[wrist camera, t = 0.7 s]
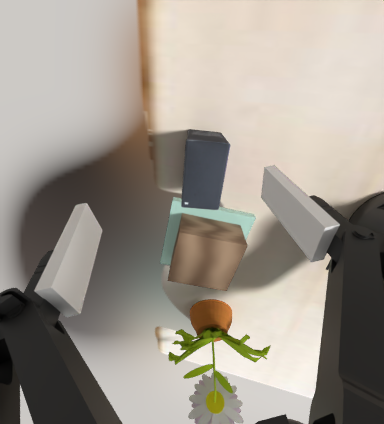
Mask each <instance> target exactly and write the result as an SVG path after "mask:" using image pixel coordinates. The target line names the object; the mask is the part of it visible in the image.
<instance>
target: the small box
mask: <svg viewBox="0 0 384 424" xmlns="http://www.w3.org/2000/svg"><path fill="white" fill-rule="evenodd" d="M229 149H230V144H229V143H228V141H227V140H226V139H225V138H224V136H223V135H222V133H218V132H210V131H200V130H191V129H189V130H188V136H187V140H186V149H185V161H184V174H183V187H182V201H181V207H183V208H196V209H208V210H219V204H220V199H221V193H222V188H223V182H224V177H225V171H226V166H227V160H228V155H229Z"/></svg>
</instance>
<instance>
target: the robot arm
mask: <svg viewBox="0 0 384 424" xmlns="http://www.w3.org/2000/svg"><path fill="white" fill-rule="evenodd" d="M261 198H262V199H263V201H264V202H265V203H266V204H267V206H268V207H269V208H270V210H271V211H272V212H273V214H274V215H275V216H276V217H277V219H278V220H279V221H280V223H281V224H282V225H283V227H284V228H285V229H286V230H287V232H288V233H289V234H290V236H291V237H292V238H293V240H294V241H295V242H296V243H297V245H298V246H299V247H300V249H301V250H302V251H303V253H304V254H305V255H306V256H307V258H308V259H309V260H310V262H314V261H319V260H323V259H324V258H325V256H326V253H328V254H329V255H330V256H331V260H330V262H329V264H328V266H327V268H326V270H328V269H329V273H328V282H327V291H326V301H325V310H324V319H323V328H322V337H321V346H320V356H319V365H318V374H317V383H316V390H315V394H314V397H313V400H312V404H311V409H310V416H309V424H384V193H383V194H380V195H378V196H376V197H374V198H372V199H370V200H368V201H367V202H365V203H364V204H363V205H362V206H360V207H359V208H358V209H357V210H356V211H355V213H354V214H353V215H352V217H351V218H350V220H349V221H348V220H346V219H345V218H344V217H343V216H342V215H341V214H339V213H338V212H337V211H336V210H334V209H333V208H332V207H331V206H329V204H328V203H326V202H325V201H324V200H323V199H321V198H319V197H317V196H314V195H313V196H308V195H307V194H306V193H304V192H303V191H302V190H301V189H300V188H299V187H298V186H297V185H296V184H294V183H293V182H292V181H291V180H290V179H289V178H288V177H287V176H286V175H285V174H283V173H282V172H281V171H280V170H279V169H278V168H277V167H276V166H275V165H274V166H269V167H264V176H263V185H262V194H261ZM102 231H103V230H102V228H101V227H100V225H99V223H98V221H97V220H96V218H95V216H94V215H93V213H92V211H91V209H90V208H89V206H88V204H87V203H83V204H78V205H76V206H75V208H74V210H73V212H72V214H71V216H70V218H69V220H68V222H67V224H66V226H65V228H64V230H63V233H62V235H61V237H60V239H59V241H58V243H57V245H56V247H55V249H54V250H52V251H48V252H47V254H46V255H45V256H44V257H43V258H42V259H41V261H40V263H39V265H38V268H37V269H36V271H35V272H34V275H33V276H32V278H31V280H30V282H29V284H28V286H27V287H26V289H25V291H24V293H22V292H21V291H20V290H18V289H17V288H11V289H8V290H5V291H3V292H1V293H0V424H20V385H21V388H22V391H23V394H24V396H25V400H26V402H27V405H28V408H29V411H30V414H31V417H32V420H33V423H34V424H122V422H121V421H120V419H119V417H118V416H117V414H116V412H115V411H114V409H113V407H112V406H111V404H110V402H109V401H108V399H107V398H106V396H105V394H104V392H103V391H102V389H101V387H100V386H99V384H98V383H97V381H96V379H95V378H94V376H93V374H92V373H91V371H90V369H89V368H88V366H87V364H86V363H85V361H84V360H83V358H82V356H81V355H80V353H79V351H78V350H77V348H76V346H75V345H74V343H73V341H72V340H71V338H70V336H69V335H68V333H67V331H66V330H65V328H64V326H63V325H62V323H61V322H60V321H59V320H58V317H59V315H60V313H62V314H63V315H64V316H65V317H69V316H73V315H79V314H81V310H82V306H83V302H84V298H85V295H86V291H87V287H88V284H89V280H90V276H91V272H92V268H93V265H94V261H95V257H96V253H97V249H98V246H99V242H100V238H101V234H102ZM256 424H303V423H301V422H299V421H295V420H292V419H287V417H286V415H281V416H277V417H273V418H270V419H266V420H262V421H258V422H257V423H256Z"/></svg>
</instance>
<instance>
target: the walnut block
mask: <svg viewBox="0 0 384 424" xmlns="http://www.w3.org/2000/svg"><path fill="white" fill-rule="evenodd" d="M246 248H247V243H246V240H245V237H244V234H243V231H242V228H241V225H237V224H233V223H228V222H223V221H218V220H213V219H209V218H204V217H199V216H194V215H189V214H185V213H182V216H181V220H180V224H179V228H178V233H177V237H176V241H175V245H174V249H173V254H172V258H171V264H170V270H169V276H168V281H172V282H178V283H184V284H189V285H195V286H201V287H206V288H212V289H218V290H223V291H227V289H228V286H229V284H230V282H231V280H232V278H233V276H234V274H235V271H236V269H237V267H238V265H239V263H240V261H241V259H242V257H243V254H244V252H245V250H246Z"/></svg>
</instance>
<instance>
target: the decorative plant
mask: <svg viewBox="0 0 384 424" xmlns="http://www.w3.org/2000/svg"><path fill="white" fill-rule="evenodd" d="M190 319H191V324H192V326H193V328H194V329H195V331H196V333H197V337H194V336H192V335H190V334H188V333H186V332H184V330H182V329H181V330H179V331H176V334H179V335H182V337H183V339H184V341H181V342H179V341H175V342H174V343H172V344H180V345H181V346H182V348H181V349H180V350H186V351H185V352H184V353H183V354H182V355H181V356H176V355H174V354H173V353H171V352H169V360H170V361H173V360H175V364H177V363H178V362H180V361H181V360H183V359H185V358H186V357H187V356H189V355H190V354H192V353H193V352H195V351H196V350H197V349H199V348H201V347H203V346H204V345H206V344H208V343H210V342H212V351H213V364H209V365H205V366H202V367H199V368H196V369H194V370H192V371H190V372H189V373H187V374H186V375H185V376H184V378H191V377H195V376H198V375H200V374H203V373H204V372H206V371H208V370H210V369H211V368H213V371H214V372H213V373H212V376H211V378H210V377H208V376H207V375H205V374H203V375H202V379H203V381H202V380H200V381H199V384H195V389H196V390H197V391H195V392H194V394H195V395H192V396H190V397H189V400H190V401H191V402H193V404H192V407H193V408H194V409H193V410H192V411H191V412H190V413H189V418H190V419H195V423H196V424H234V421H235V422H237V423H243V418H242V417H241V416H240V415H239V413H240V412H241V410H240V408H239V407H241V406H242V402H241V401H240V400H238V399H237V395H236V394H234V393H235V392H236V389H237V388H236V386H230V383H228V379H227V377H223V376H222V375H221V374H220V373H219V372H217V371H215V356H214V342H215V341H220V340H223V341H224V342H226V343H227V344H228V345H230V346H231V347H232V348H233V349H235V350H236V351H237V352H238V353H240V354H241V355H242V356H243V357H245V358H248V359H250V360H252V361H254V362H256V361H257V360H259V359H260V358H261V357H264V358H265V359H267V358H266V357H265V356H264V355H267V353H268V351H269V349H270V346H268V347H266V348H264V349H263V350H262V351H261V350H253V349H252V348H250V347H248V346H247V345H245V344H243V343H244V342H245V341H246V340H247V339H250V337H249V336H248V335H247V334H246V335H245V336H244V337H243V338H242V339H241V340H238V339H235V338H233V337H231V336H230V335H228V334H227V332H228V330H229V328H230V326H231V323H232V310H231V308H230V306H229V305H227V304H226V303H224V302H222V301H219V300H211V299H210V300H203V301H200V302H198V303H196V304H194V305H193V306H192V308H191V309H190ZM198 338H200V339H198ZM194 339H197V340H195V341H192V340H194ZM249 354H252V355H256V356H261V357H260V358H253V357H252V356H250V355H249Z"/></svg>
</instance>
